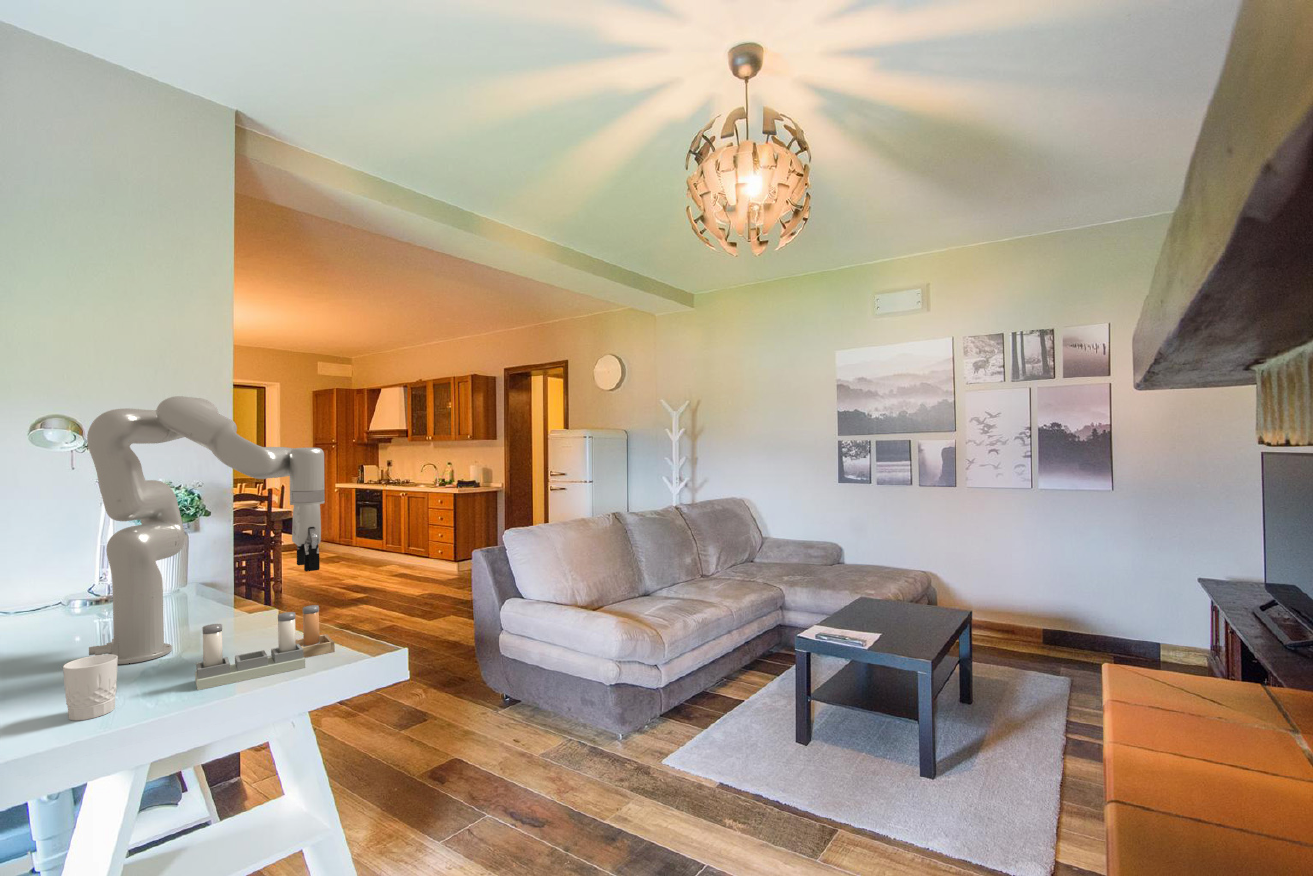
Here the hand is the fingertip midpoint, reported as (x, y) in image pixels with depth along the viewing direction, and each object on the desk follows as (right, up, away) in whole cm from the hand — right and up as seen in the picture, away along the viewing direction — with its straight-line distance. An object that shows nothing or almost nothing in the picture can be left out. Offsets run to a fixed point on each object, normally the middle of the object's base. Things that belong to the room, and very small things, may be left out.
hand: (307, 567), depth 159 cm
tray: (+1, -20, 0) cm, 20 cm away
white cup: (-22, -21, -35) cm, 47 cm away
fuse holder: (-4, -21, -15) cm, 26 cm away
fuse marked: (+1, -20, 0) cm, 20 cm away
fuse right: (+1, -18, -11) cm, 21 cm away
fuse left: (-10, -19, -20) cm, 29 cm away
